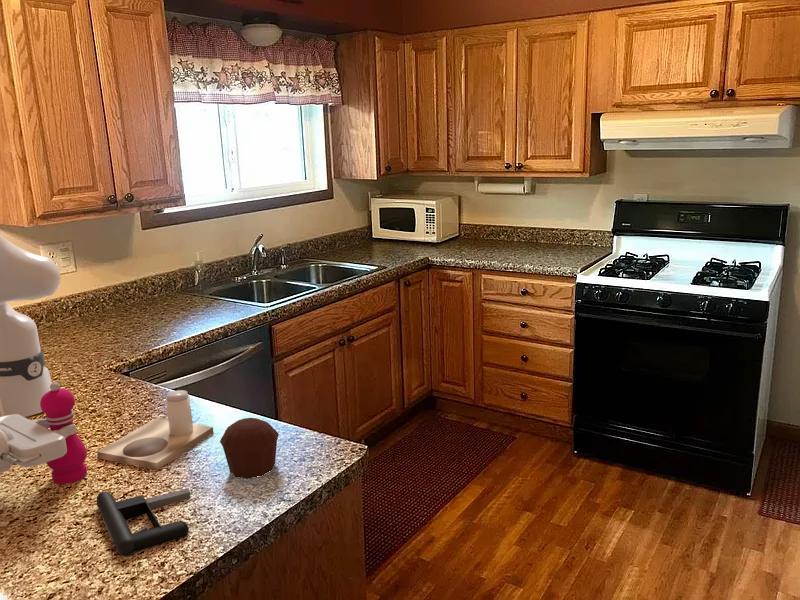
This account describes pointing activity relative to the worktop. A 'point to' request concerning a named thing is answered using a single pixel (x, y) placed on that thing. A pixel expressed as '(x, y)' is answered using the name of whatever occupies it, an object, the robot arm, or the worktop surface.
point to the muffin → (250, 447)
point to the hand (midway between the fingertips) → (66, 423)
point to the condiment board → (153, 445)
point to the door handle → (135, 507)
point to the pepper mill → (58, 415)
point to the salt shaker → (179, 413)
